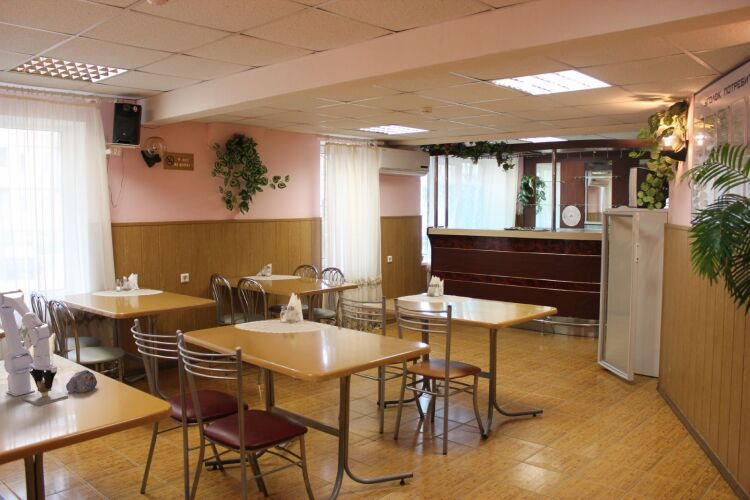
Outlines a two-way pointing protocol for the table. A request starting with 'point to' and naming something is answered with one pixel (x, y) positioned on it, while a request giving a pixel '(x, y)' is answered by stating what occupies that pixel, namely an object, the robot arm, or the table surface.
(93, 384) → the rock
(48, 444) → the table surface
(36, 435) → the table surface
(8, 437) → the table surface
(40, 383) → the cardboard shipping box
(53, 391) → the plate
